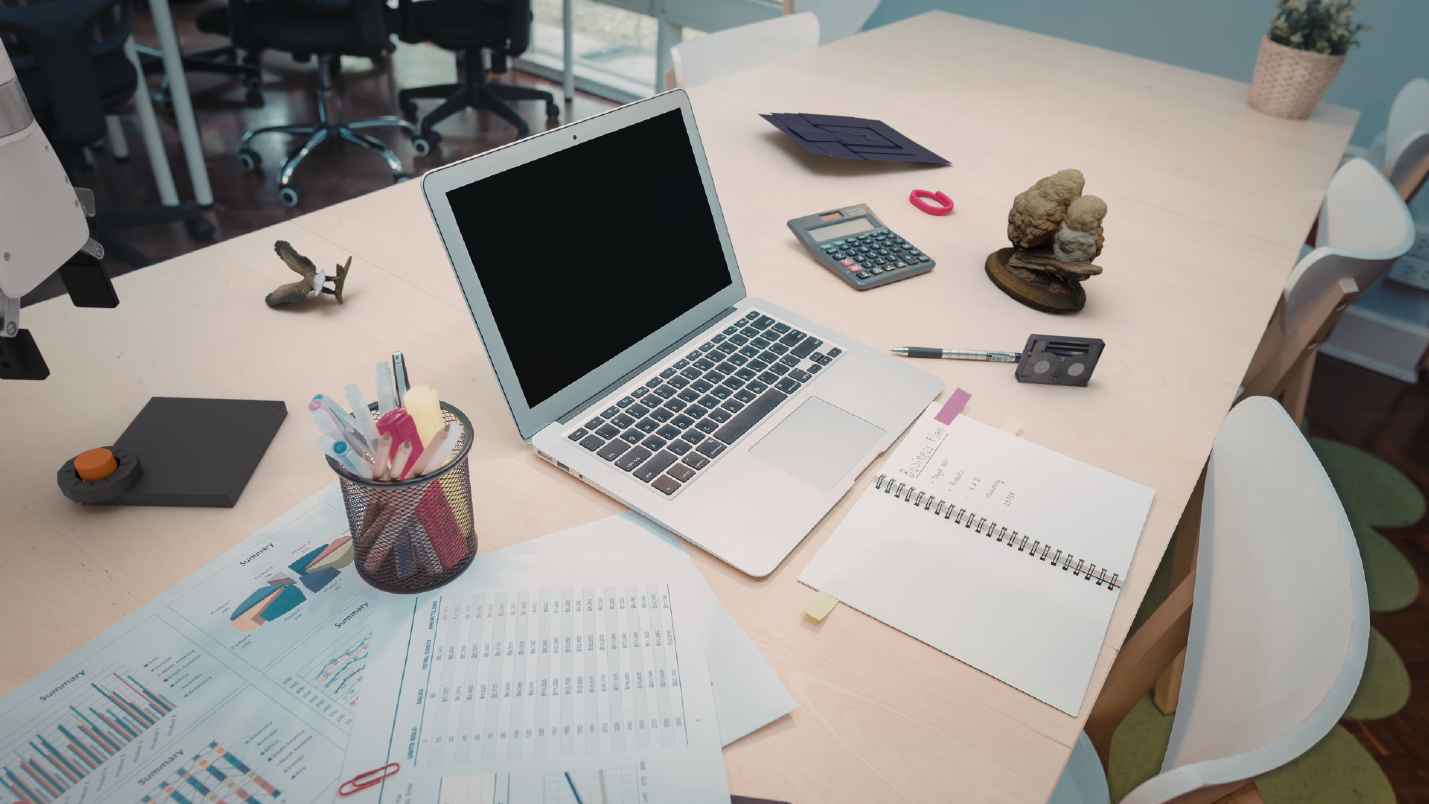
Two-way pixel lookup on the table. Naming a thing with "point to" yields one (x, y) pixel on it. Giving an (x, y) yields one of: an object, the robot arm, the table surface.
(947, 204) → the fitness band
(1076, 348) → the mini dv tape
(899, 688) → the table surface
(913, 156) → the navy patterned tile
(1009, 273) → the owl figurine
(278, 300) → the eagle figurine
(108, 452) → the button
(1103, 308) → the table surface
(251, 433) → the scale
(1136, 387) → the table surface
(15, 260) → the robot arm
